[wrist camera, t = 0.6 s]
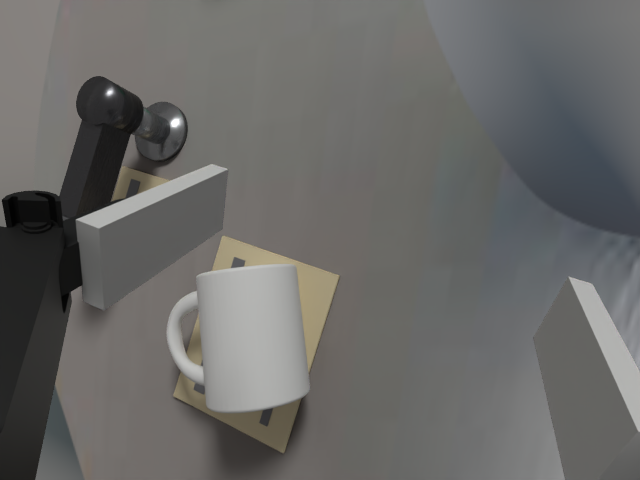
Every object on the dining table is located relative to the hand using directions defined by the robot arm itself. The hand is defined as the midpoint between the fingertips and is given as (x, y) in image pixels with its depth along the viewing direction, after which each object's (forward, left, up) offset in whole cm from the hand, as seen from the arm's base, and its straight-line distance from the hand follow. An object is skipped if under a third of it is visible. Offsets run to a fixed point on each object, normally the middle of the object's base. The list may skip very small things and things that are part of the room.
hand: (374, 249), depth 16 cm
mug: (-10, +12, -18) cm, 24 cm away
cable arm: (0, +28, -14) cm, 31 cm away
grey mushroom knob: (+5, +28, -18) cm, 34 cm away
